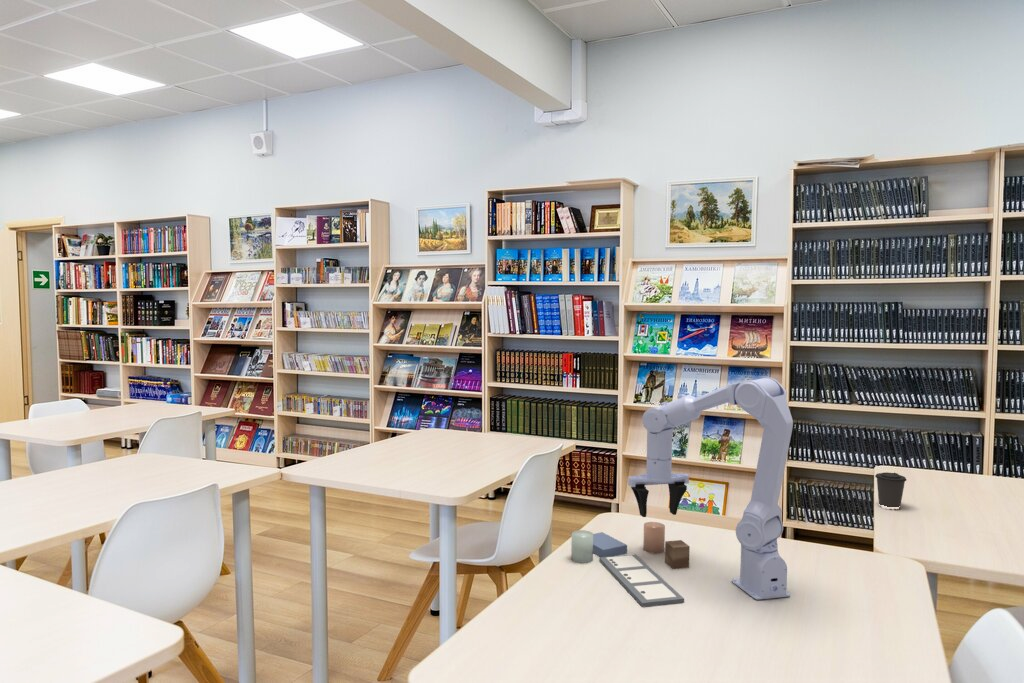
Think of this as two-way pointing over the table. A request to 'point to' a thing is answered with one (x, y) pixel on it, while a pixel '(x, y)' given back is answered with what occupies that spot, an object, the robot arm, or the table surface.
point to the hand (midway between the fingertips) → (658, 514)
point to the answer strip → (641, 581)
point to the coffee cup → (890, 489)
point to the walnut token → (677, 554)
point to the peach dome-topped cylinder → (654, 537)
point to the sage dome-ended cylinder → (582, 546)
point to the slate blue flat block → (607, 545)
